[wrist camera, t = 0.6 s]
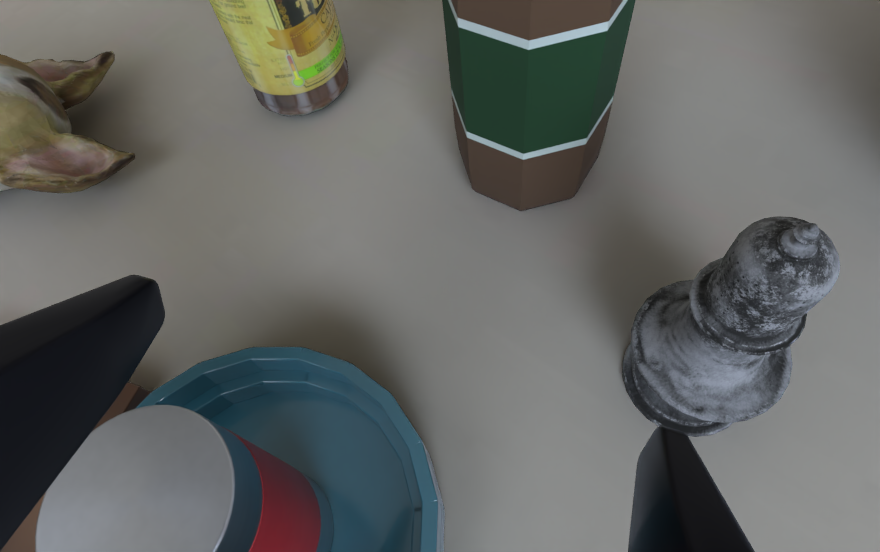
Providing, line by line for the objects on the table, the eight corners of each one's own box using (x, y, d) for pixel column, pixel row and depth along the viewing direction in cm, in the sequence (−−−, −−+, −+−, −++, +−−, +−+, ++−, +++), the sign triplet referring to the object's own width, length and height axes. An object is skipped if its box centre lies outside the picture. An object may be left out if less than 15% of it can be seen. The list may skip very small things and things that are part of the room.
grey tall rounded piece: (588, 376, 26) (648, 229, 15) (668, 291, 27) (773, 106, 17) (702, 474, 23) (868, 381, 13) (783, 375, 25) (990, 220, 14)
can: (299, 632, 22) (162, 662, 13) (184, 578, 23) (-11, 573, 14) (355, 493, 24) (271, 438, 15) (247, 451, 25) (112, 378, 16)
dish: (360, 834, 19) (335, 878, 16) (33, 655, 22) (-34, 665, 20) (490, 427, 25) (488, 407, 22) (216, 335, 28) (185, 307, 26)
